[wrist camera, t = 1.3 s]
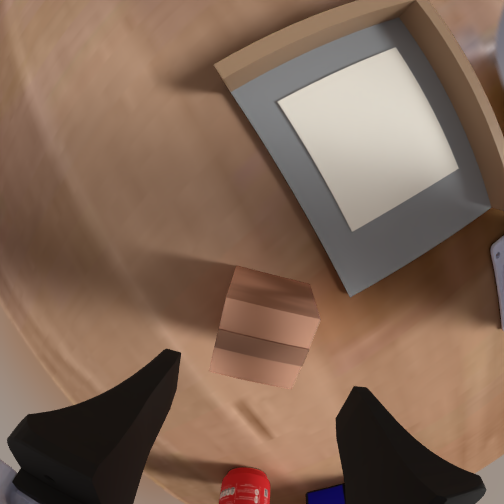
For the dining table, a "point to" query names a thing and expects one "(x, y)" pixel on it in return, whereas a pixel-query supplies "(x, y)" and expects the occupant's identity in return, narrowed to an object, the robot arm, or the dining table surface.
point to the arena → (373, 130)
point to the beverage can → (245, 487)
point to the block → (265, 328)
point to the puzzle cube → (327, 495)
